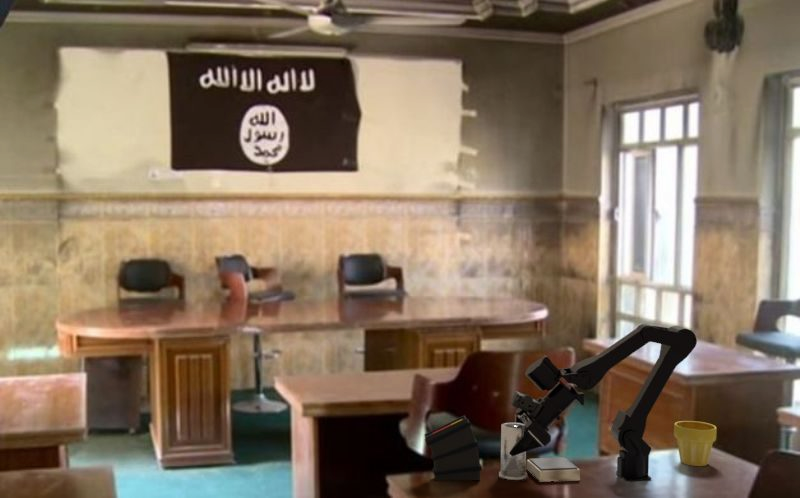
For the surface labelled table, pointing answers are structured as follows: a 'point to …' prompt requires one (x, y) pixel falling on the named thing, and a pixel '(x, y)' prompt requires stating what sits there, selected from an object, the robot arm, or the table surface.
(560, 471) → the stand
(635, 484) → the table surface
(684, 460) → the plant pot
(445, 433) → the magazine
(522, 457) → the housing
